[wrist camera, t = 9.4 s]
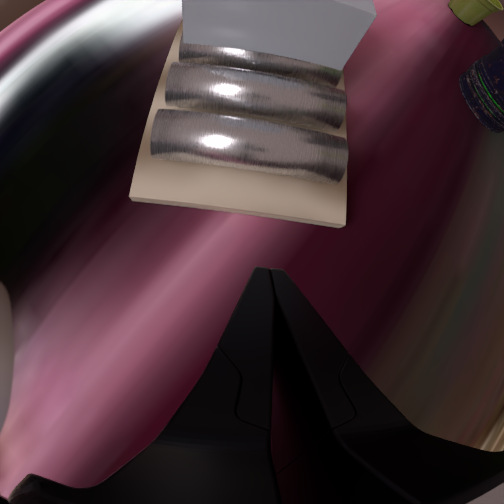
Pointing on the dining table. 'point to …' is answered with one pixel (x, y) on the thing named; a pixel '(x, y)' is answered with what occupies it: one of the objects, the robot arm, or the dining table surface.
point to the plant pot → (474, 9)
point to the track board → (234, 177)
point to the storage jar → (486, 89)
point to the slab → (281, 27)
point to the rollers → (252, 113)
